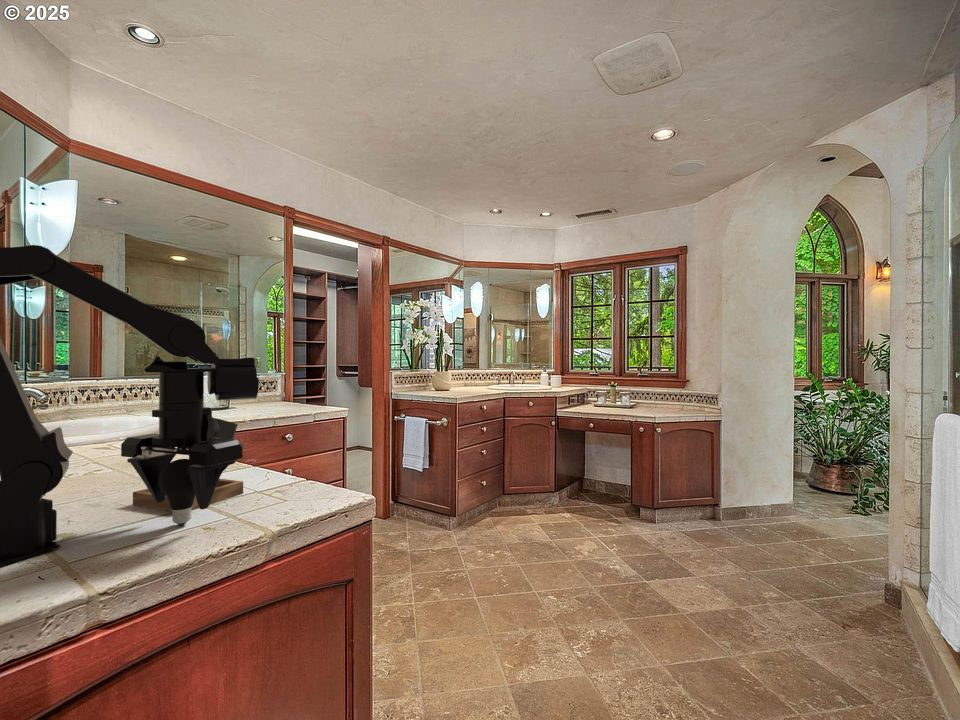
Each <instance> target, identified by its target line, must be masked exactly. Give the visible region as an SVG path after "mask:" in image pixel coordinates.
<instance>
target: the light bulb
mask: <svg viewBox="0 0 960 720" xmlns="http://www.w3.org/2000/svg"><path fill="white" fill-rule="evenodd" d="M192 465H195V464H192V462H191V461H190V459H189V458H178V459H175V460H172V461H171V462H170V463H169V464H168V465H166V466H165V467H164V469H163V470H162V471H161V473H160V476H159V482H158V483H159V487H160V489H161V491H162V492H163V493H164V494H165V495H166V496H167V498H168V500H169V503H170V507H171V510H172V511H171V512H172V513H171V514H172V516H171V518H172V519H171V520H172V523H174V524H176V525H178V526H184V525H186V524H187V523H188V522H189V521H190V520H191V519H192V510H191V508H192V506H193V503H194V498H195V491H194V488H193V484H192V480H191V476H190V473H189V469H188V466H192Z"/></svg>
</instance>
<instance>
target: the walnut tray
mask: <svg viewBox="0 0 960 720" xmlns="http://www.w3.org/2000/svg"><path fill="white" fill-rule="evenodd" d="M242 494H244V481H242V480H235V479H227V478H219V480H218V482H217V485H216V488H215V490H214V493H213V496H212V498H211V501H210V504H209V505H212V504H214V503H218V502H221V501H225V500H226V499H230V498H233V497H235V496H236V497H237V496H238V495H242ZM132 506H138V507H142V508H143V507H144V508H150V509H155V510H156V509H157V510H162V511H169V512H172V510H171V507H170V503H169V500H168V498H167V496H166V495H165V500H164V501H163V502H159V503H157V502H156V501H155V499H154V498H153V496H152V495H151V493H150V491H149V490H148V488H147V487H146V488H143V489H139V490H136V491H132ZM196 509H200V508H199V505H198V502H197V499H196V495H195V498H194V503H193V506H192V508H191V511H193V510H196Z"/></svg>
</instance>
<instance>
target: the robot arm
mask: <svg viewBox="0 0 960 720" xmlns="http://www.w3.org/2000/svg"><path fill="white" fill-rule="evenodd" d="M36 280H38V281H42V282H44V283H46V284H48V285H49V286H51V287H54V288H56V289H57V290H59V291H62V292H64V293H65V294H67V295H69V296H71V297H74V298H75V299H76V300H78V301H81V302H83V303H85V304H87V305H89V306H91V307H93V308H94V309H96V310H99V311H100V312H102V313H105V314H106V315H109V316H110V317H112V318H113V319H115V320H118V321H119V322H122V323H123V324H126V325H128V326H129V327H131V329H133V330H134V331H136V332H138V333H139V334H140V335H142V336H143V337H144V338H145V339H147V341H150V342H151V343H152V344H154V345H155V346H156V347H158V348H159V349H161V350H162V351H164V352H165V353H166V354H168V355H169V356H172V357H175V358H188V359H190V360H193V361H195V362H196V363H197V364H205V365H206V364H209V365H210V364H211V367H204V368H203V367H199V368H197V367H194V368H193V367H191V368H189V367H188V362H187V361H186V360H184V361H183V360H182V361H181V360H179V361H177V360H176V361H175V360H173V361H171V360H170V361H167V360H166V361H165V360H163V359H162V358H161V357H160V356H155V357H154V359H153V360H152V362H151V363H149V364H148V365H147V366H144V368H143V371H144V372H145V373H147V374H149V373H152V374H153V373H158V409H151V417H152V418H158V432H155V433H148V434H143V435H134V436H128V437H127V438H125V439H124V441H123V442H122V443H121V444H120V451H121V452H120V456H121V457H123V458H127V460H126V461H127V463H128V464H131V466H132V467H133V468H134V470H135V471H136V473H137V474H138V475H139V477H140V478H141V480H142V482H143V483H144V484H145V486H146V489H147V488H148V490H149V491H150V493H151V495H152V496H153V498H154V499H155V501H156V502H157V503H159V502H163V501H164V500H165V494H164V493H163V492H162V491H161V489H160V487H159V483H158V482H159V476H160V473H161V471H162V470H163V469H164V467H165V466H166V465H168V464H169V463H171V462H173V460H174V458H175V456H176V455H185V456H188V459H190V461H191V462H192V464H195V465H192V466H188V469H189V473H190V476H191V480H192V484H193V488H194V491H195V495H196V499H197V502H198V505H199V508H198V509H199V510H205V509H208V508H209V505H211V504H210V501H211V498H212V496H213V493H214V490H215V488H216V485H217V482H218V480H219V479H221V476H222V473H223V472H224V471H225V470H226V469H227V468H228V467H229V466H231V465H234V464H236V462H237V460H241V459H244V458H243V457H244V456H243V455H244V451H243V450H244V449H243V448H244V445H243V444H242V442H241V441H239V439H235V434H236V431H237V430H238V429H237V428H238V424H239V423H235V422H231V421H228V420H225V419H221V418H216V417H213V412H212V411H213V410H212V409H211V407H205V403H204V399H205V397H204V396H205V395H204V390H205V386H204V385H205V382H204V381H205V380H204V379H205V375H204V374H205V373H207V393H208V395H214V397H215V400H216V401H236V400H255V399H257V397H258V395H259V385H260V384H259V383H260V382H259V377H258V373H257V367H256V359H255V357H241V358H219V357H218V355H217V354H216V352H215V351H214V350H213V349H212V348H211V347H210V346H209V345H208V344H207V343H206V337H207V336H206V333H205V329H204V328H203V327H202V326H201V325H200V324H199V323H198V322H197V321H195V320H194V319H193V320H192V319H190V318H187V317H185V316H182V315H179V314H177V313H174V312H171V311H168V310H165V309H162V308H159V307H156V306H153V305H150V304H148V303H144V302H143V301H141V300H139V299H137V298H135V297H134V296H132V295H130V294H129V293H126V292H124V291H123V290H121V289H119V288H117V287H116V286H113V285H112V284H110V283H108V282H106V281H104V280H103V279H100V278H98V277H97V276H95V275H93V274H92V273H89V272H87V271H86V270H84V269H82V268H81V267H78V266H76V265H74V264H73V263H71V262H69V261H67V260H65V259H64V258H61V257H60V256H58V255H56V253H54V252H53V251H52V250H51V249H49V248H47V247H45V246H43V245H37V244H30V245H29V244H28V245H25V246H24V245H23V246H13V247H10V246H9V247H8V246H7V247H6V246H5V247H4V246H3V247H2V246H1V247H0V286H7V285H11V284H17V283H22V282H28V281H29V282H30V281H36ZM73 453H74V452H73V451H72V450H71V449H70V448H69V447H68V446H67V444H66V443H65V439H64V434H63V430H62V427H61V426H59V427H56V428H54V429H51V430H48V429H47V428H46V427H45V426H44V425H43V424H42V423H41V422H40V421H39V419H38V418H37V416H36V413H35V412H34V410H33V407H32V405H31V403H30V401H29V399H28V395H27V394H26V391H25V390H24V387H23V385H22V383H21V381H20V378H19V376H18V374H17V372H16V370H15V367H14V365H13V363H12V361H11V359H10V356H9V354H8V352H7V350H6V348H5V345H4V343H3V340H2V338H1V337H0V567H2V566H6V565H8V564H12V563H15V562H18V561H22V560H23V559H28V558H30V557H34V556H37V555H40V554H43V553H47V552H49V551H52V550H55V549H59V548H60V547H61V542H56V540H57V538H58V537H57V530H58V529H57V526H58V525H57V522H58V520H57V519H58V518H57V517H58V514H57V510H56V509H54V508H53V507H54V506H53V500H52V499H48V498H44V496H46V495H47V493H50V492H51V491H53V490H54V489H55V488H56V487H58V486H59V484H60V483H61V481H62V479H63V478H64V476H65V475H66V473H67V472H68V469H69V466H70V458H71V456H72V454H73Z"/></svg>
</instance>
